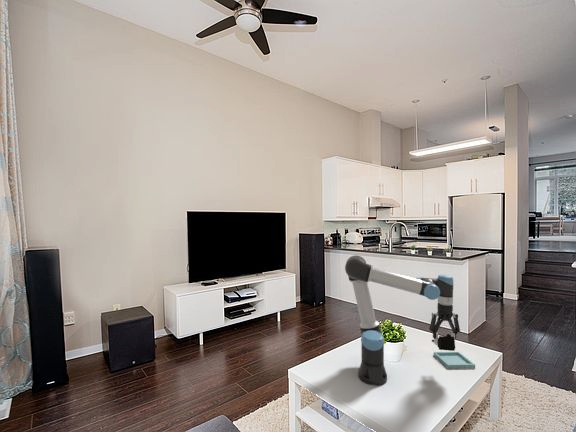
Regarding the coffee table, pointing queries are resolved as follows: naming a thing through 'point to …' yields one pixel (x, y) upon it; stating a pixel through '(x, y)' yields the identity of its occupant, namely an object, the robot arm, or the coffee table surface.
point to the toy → (446, 343)
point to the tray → (454, 360)
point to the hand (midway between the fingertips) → (444, 344)
